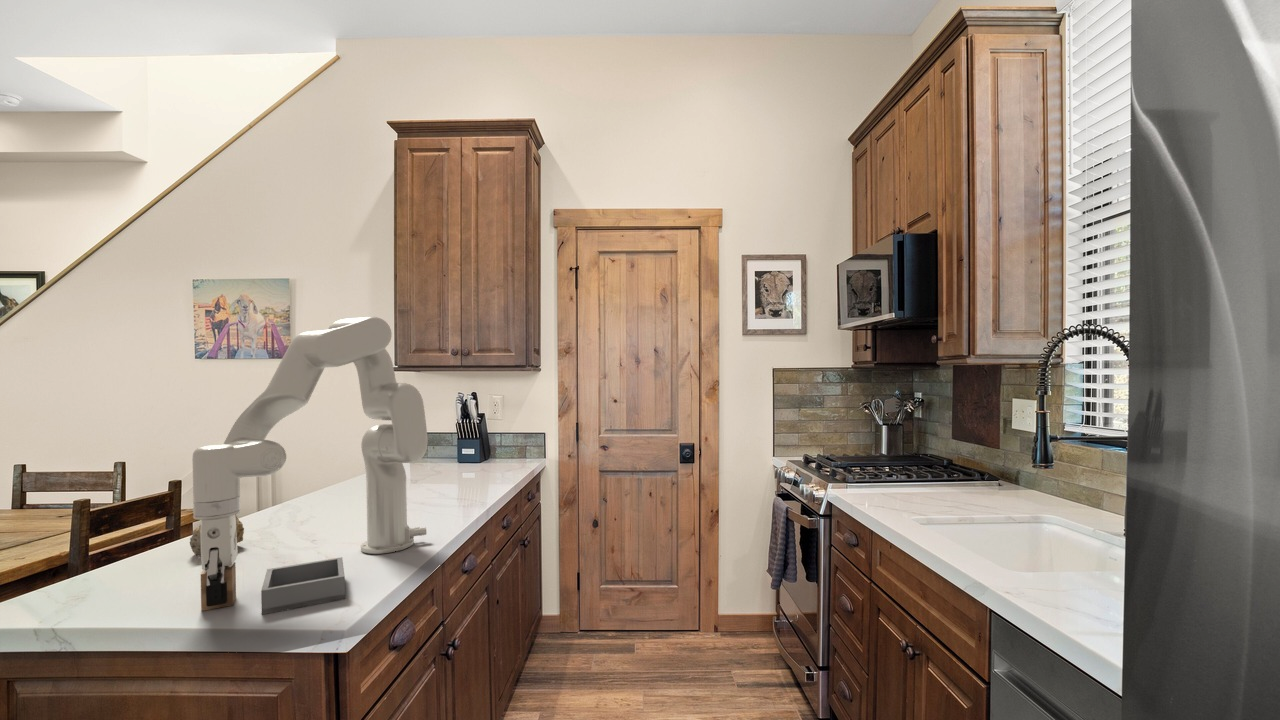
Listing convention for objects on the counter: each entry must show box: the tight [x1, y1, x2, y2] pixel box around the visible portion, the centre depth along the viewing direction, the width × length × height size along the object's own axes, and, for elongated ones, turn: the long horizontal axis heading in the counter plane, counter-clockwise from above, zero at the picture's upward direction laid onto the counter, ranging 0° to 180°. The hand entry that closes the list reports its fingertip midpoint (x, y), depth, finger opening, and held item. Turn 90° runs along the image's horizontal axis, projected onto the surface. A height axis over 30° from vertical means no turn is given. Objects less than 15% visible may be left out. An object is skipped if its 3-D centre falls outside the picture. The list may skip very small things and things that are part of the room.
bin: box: [260, 556, 346, 616], centre depth 119 cm, size 14×14×4 cm
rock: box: [189, 514, 245, 556], centre depth 150 cm, size 11×12×10 cm
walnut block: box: [200, 562, 237, 612], centre depth 115 cm, size 5×5×7 cm
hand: (219, 598), depth 115 cm, fingers closed on walnut block, 5 cm apart
